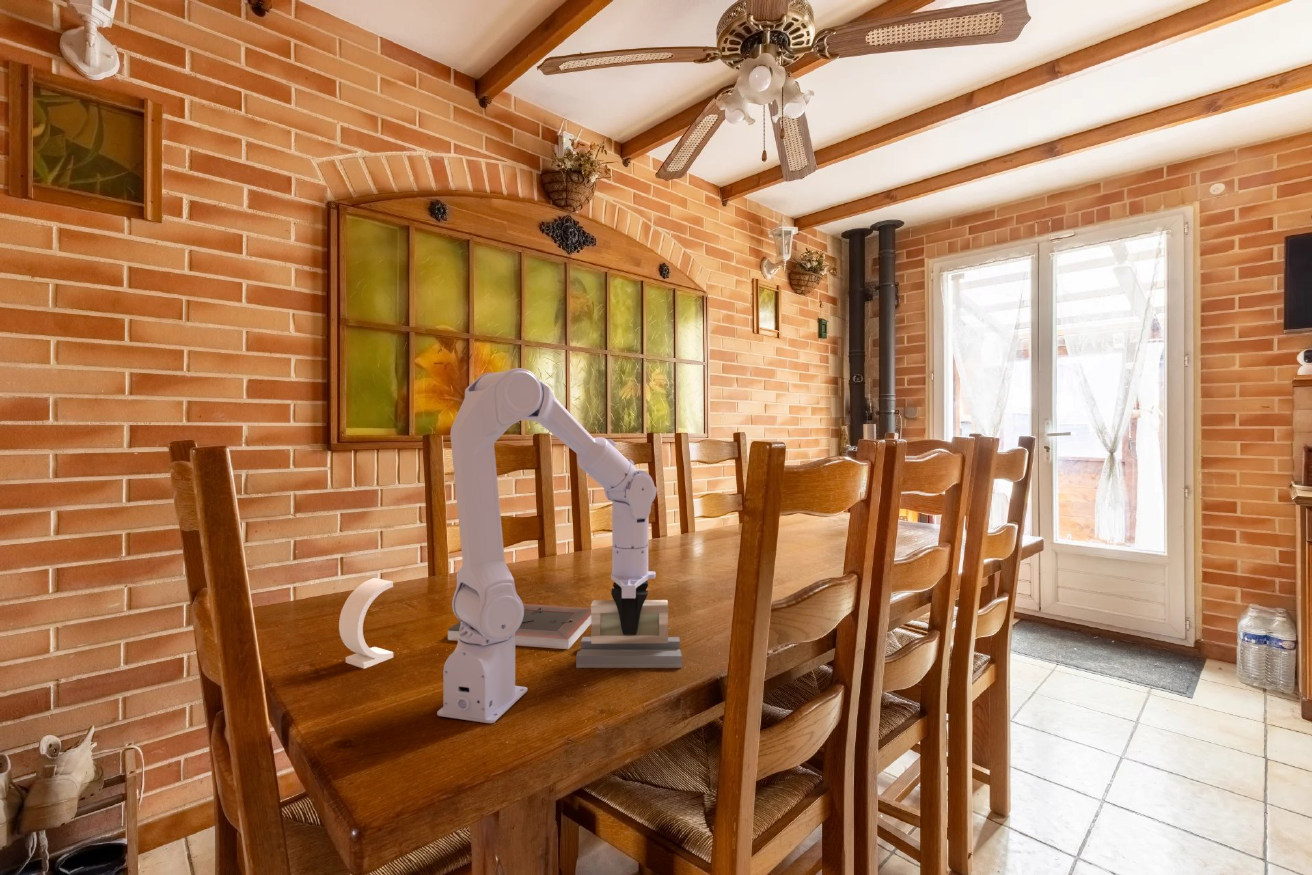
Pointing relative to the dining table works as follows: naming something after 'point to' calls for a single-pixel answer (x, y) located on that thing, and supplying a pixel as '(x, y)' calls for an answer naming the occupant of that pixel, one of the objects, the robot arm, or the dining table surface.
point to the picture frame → (546, 626)
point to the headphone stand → (354, 620)
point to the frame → (609, 625)
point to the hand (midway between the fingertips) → (630, 630)
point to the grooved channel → (629, 655)
